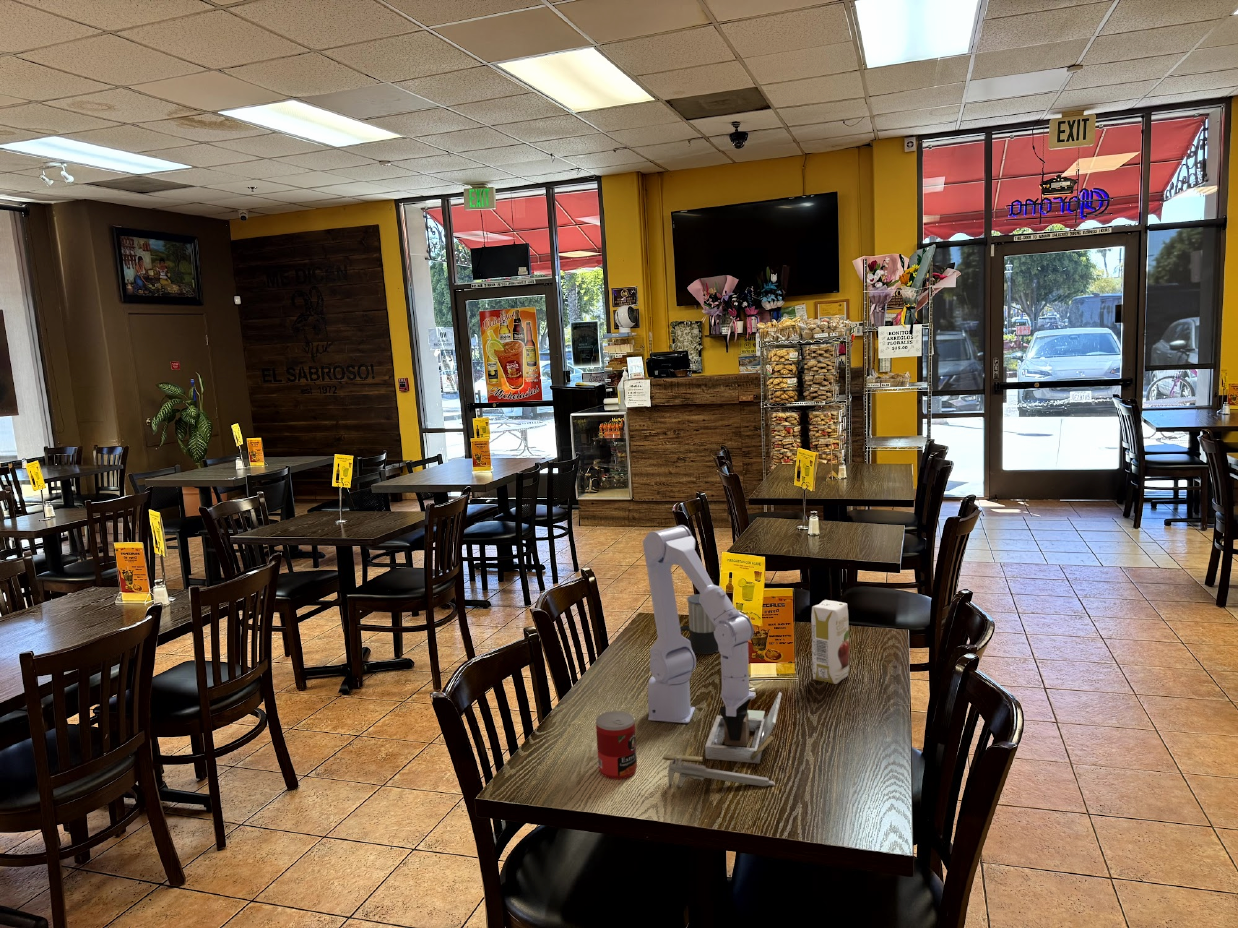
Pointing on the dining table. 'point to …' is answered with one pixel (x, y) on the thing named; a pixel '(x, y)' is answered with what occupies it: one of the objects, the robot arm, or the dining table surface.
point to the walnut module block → (744, 734)
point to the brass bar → (683, 757)
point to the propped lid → (768, 727)
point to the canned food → (616, 744)
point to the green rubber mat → (756, 714)
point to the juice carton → (830, 641)
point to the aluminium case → (728, 752)
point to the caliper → (711, 774)
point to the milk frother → (700, 628)
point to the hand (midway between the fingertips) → (736, 734)
